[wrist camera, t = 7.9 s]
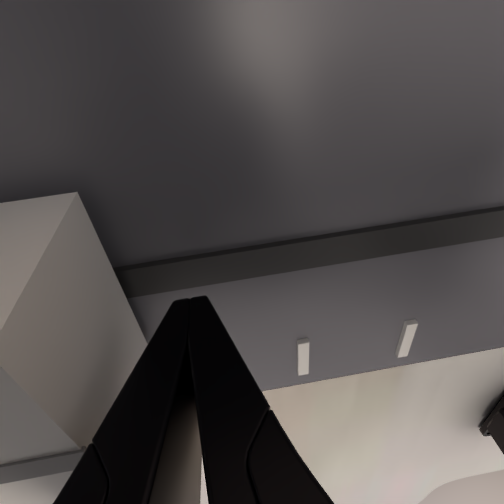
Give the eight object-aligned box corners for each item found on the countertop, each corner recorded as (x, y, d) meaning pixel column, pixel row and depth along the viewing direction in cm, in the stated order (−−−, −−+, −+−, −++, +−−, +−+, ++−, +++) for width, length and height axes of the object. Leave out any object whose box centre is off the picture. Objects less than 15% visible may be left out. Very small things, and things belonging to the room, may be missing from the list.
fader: (79, 191, 7) (-11, 355, 4) (156, 358, 11) (141, 511, 8) (-75, 213, 7) (-299, 404, 4) (56, 375, 11) (0, 540, 7)
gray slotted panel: (688, -123, 7) (841, -157, 6) (477, 311, 16) (512, 350, 14) (-432, -6, 6) (-676, -3, 4) (-1, 395, 15) (-27, 448, 13)
